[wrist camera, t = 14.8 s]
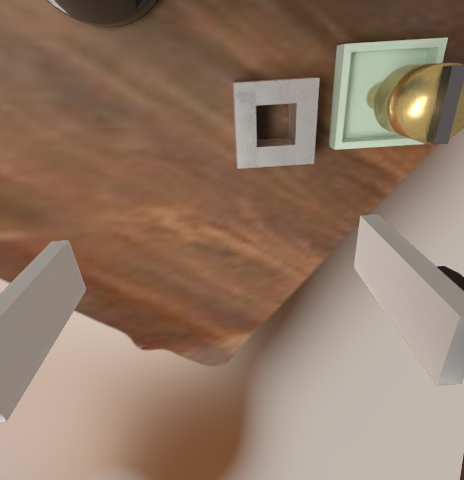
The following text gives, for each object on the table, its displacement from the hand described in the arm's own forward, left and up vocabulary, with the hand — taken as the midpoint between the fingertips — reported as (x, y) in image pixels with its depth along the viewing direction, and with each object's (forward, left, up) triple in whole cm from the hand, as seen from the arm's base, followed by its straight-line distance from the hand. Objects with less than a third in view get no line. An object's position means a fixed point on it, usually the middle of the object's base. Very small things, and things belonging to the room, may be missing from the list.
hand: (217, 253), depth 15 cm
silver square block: (-2, +7, -29) cm, 29 cm away
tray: (-4, +20, -29) cm, 35 cm away
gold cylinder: (-4, +20, -28) cm, 34 cm away
